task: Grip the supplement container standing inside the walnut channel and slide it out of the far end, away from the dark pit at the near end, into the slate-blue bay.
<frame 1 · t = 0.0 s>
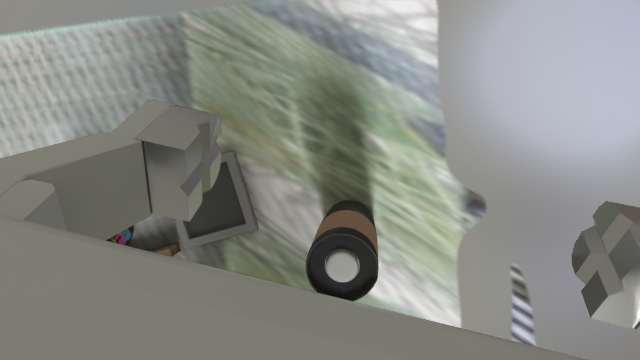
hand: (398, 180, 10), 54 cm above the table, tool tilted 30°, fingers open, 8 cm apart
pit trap: (210, 199, 67), on the table
travel mug: (349, 223, 66), on the table
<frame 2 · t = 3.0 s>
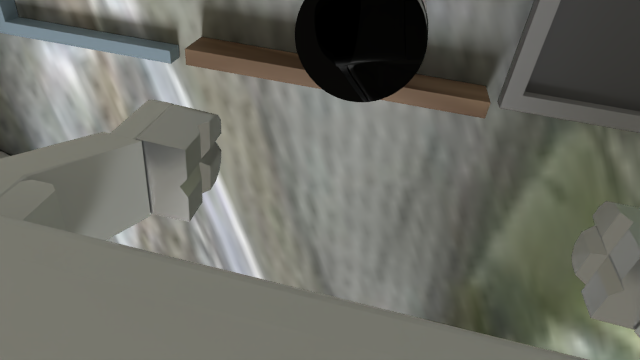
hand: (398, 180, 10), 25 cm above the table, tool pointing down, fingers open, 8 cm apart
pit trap: (617, 33, 30), on the table
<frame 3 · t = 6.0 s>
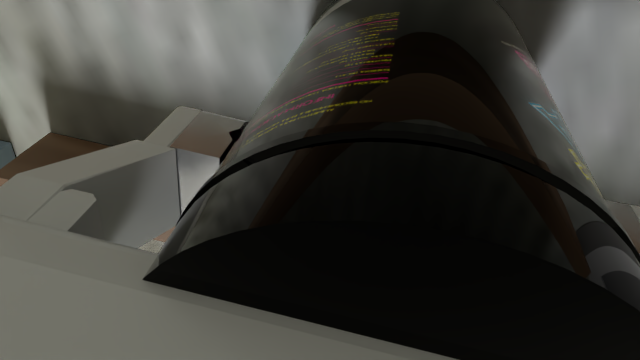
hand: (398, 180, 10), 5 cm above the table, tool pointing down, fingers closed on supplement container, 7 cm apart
supplement container: (407, 81, 14), on the table, touching gripper
channel: (343, 70, 14), on the table
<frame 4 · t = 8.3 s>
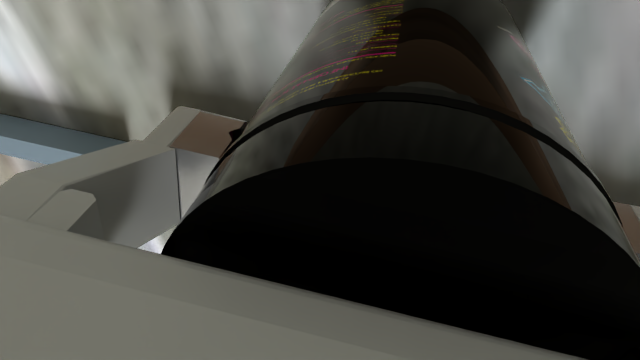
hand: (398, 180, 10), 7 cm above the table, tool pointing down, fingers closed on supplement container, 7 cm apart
supplement container: (408, 69, 15), point 1 cm above the table, touching gripper
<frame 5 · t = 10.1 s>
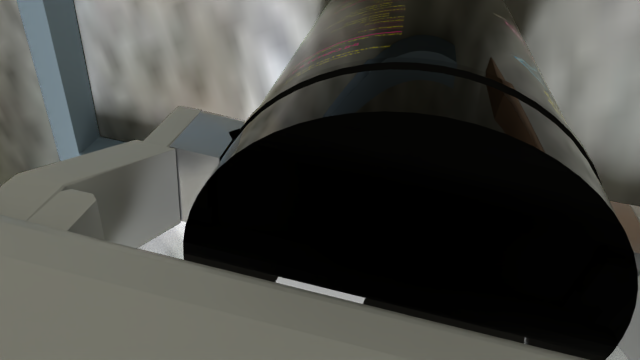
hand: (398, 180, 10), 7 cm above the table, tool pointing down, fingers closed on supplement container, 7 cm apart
supplement container: (409, 58, 15), on the table, touching gripper
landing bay: (256, 34, 16), on the table
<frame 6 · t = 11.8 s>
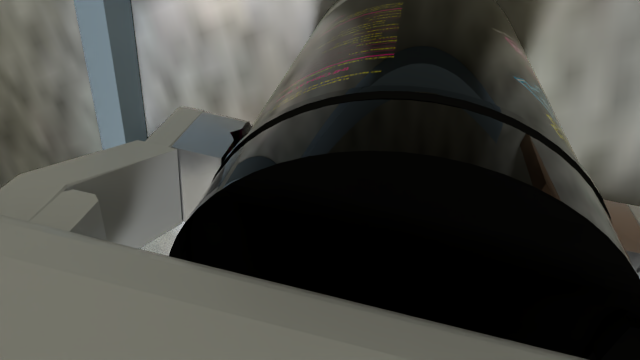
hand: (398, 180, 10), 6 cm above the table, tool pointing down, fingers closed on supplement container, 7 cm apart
supplement container: (408, 70, 15), on the table, touching gripper
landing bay: (328, 67, 15), on the table
when the fingers open (6 cm above the table, at t = 12.0 s): supplement container stays where it is, on the table.
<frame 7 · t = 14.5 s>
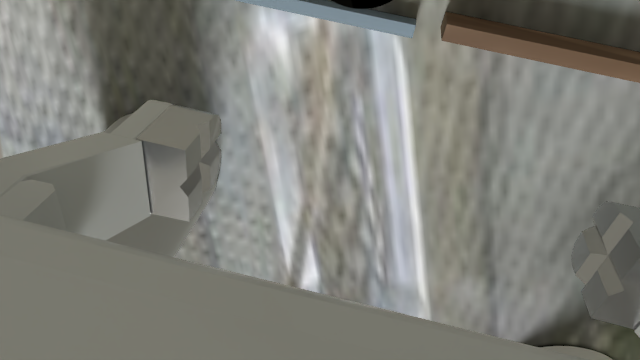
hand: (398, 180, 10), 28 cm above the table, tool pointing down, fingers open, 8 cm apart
cylinder vase: (165, 159, 49), on the table
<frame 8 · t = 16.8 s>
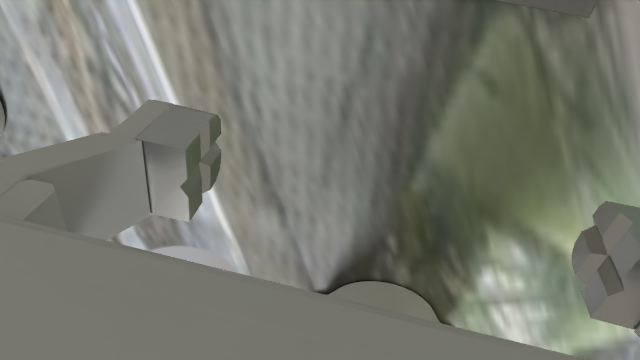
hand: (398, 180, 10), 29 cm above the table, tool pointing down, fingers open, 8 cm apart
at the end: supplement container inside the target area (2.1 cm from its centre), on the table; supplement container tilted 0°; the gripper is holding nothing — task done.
